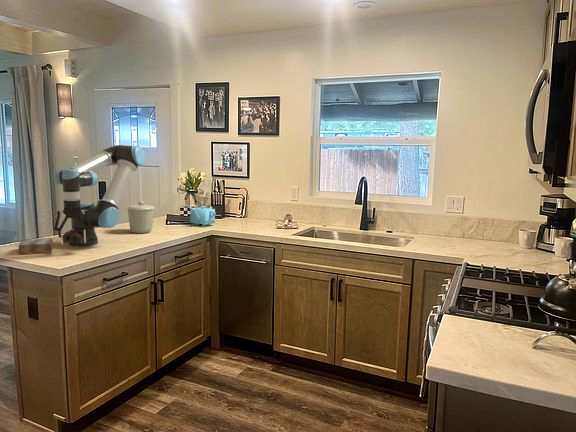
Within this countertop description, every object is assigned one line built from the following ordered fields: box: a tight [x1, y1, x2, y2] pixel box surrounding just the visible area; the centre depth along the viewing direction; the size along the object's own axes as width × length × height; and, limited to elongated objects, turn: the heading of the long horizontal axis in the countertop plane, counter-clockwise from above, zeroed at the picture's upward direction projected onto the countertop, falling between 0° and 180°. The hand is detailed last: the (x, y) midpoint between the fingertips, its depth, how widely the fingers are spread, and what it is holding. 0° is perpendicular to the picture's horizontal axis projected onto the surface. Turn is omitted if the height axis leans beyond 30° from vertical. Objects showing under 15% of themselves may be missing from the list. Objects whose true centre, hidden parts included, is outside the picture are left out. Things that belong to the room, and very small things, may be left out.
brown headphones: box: [62, 228, 84, 245], centre depth 216 cm, size 12×10×8 cm
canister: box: [126, 200, 156, 234], centre depth 280 cm, size 18×18×21 cm
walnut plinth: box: [18, 238, 54, 256], centre depth 218 cm, size 14×14×5 cm
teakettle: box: [188, 205, 217, 227], centre depth 318 cm, size 19×19×15 cm
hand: (73, 242), depth 216 cm, fingers closed on brown headphones, 10 cm apart
